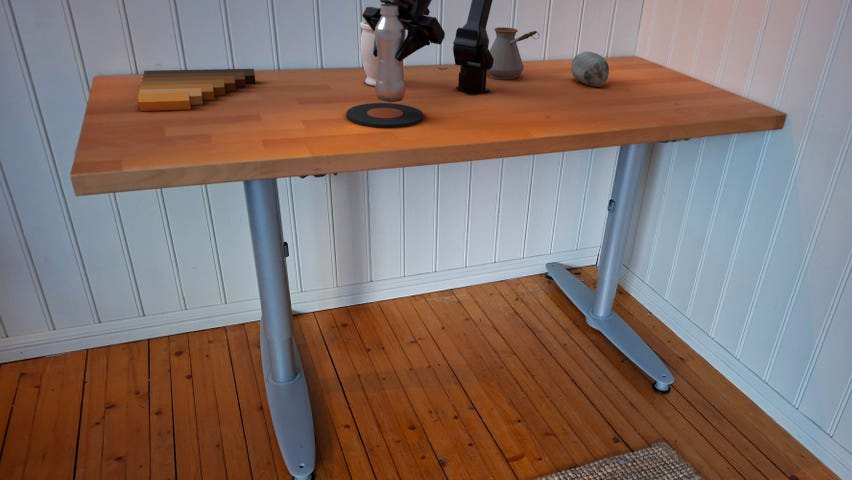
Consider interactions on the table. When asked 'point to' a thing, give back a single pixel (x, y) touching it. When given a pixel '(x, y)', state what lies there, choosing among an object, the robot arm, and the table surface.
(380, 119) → the ring
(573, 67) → the grey river stone
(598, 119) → the table surface
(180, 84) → the pan flute
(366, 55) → the jar
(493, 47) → the coffee pot
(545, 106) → the table surface
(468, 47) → the robot arm
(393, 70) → the plastic bottle
